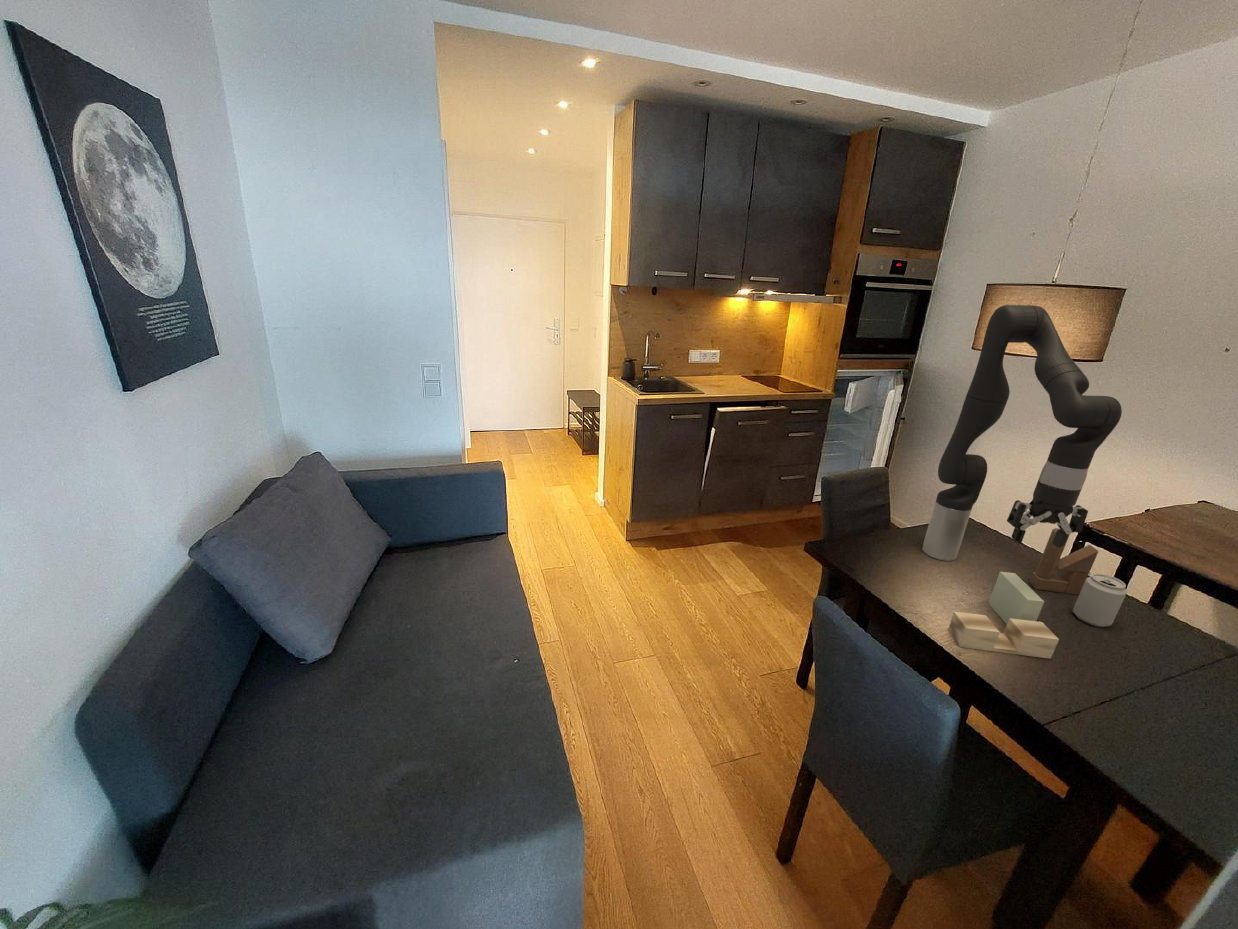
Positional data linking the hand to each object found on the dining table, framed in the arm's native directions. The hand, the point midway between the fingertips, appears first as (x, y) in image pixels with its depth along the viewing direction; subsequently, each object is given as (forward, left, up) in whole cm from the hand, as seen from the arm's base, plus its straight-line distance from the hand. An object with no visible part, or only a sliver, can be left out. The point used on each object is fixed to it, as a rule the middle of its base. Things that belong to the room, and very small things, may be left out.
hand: (1036, 543), depth 115 cm
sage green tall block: (0, 0, -22) cm, 22 cm away
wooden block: (-17, +20, -22) cm, 34 cm away
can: (-4, +21, -22) cm, 31 cm away
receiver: (+11, -8, -22) cm, 26 cm away
